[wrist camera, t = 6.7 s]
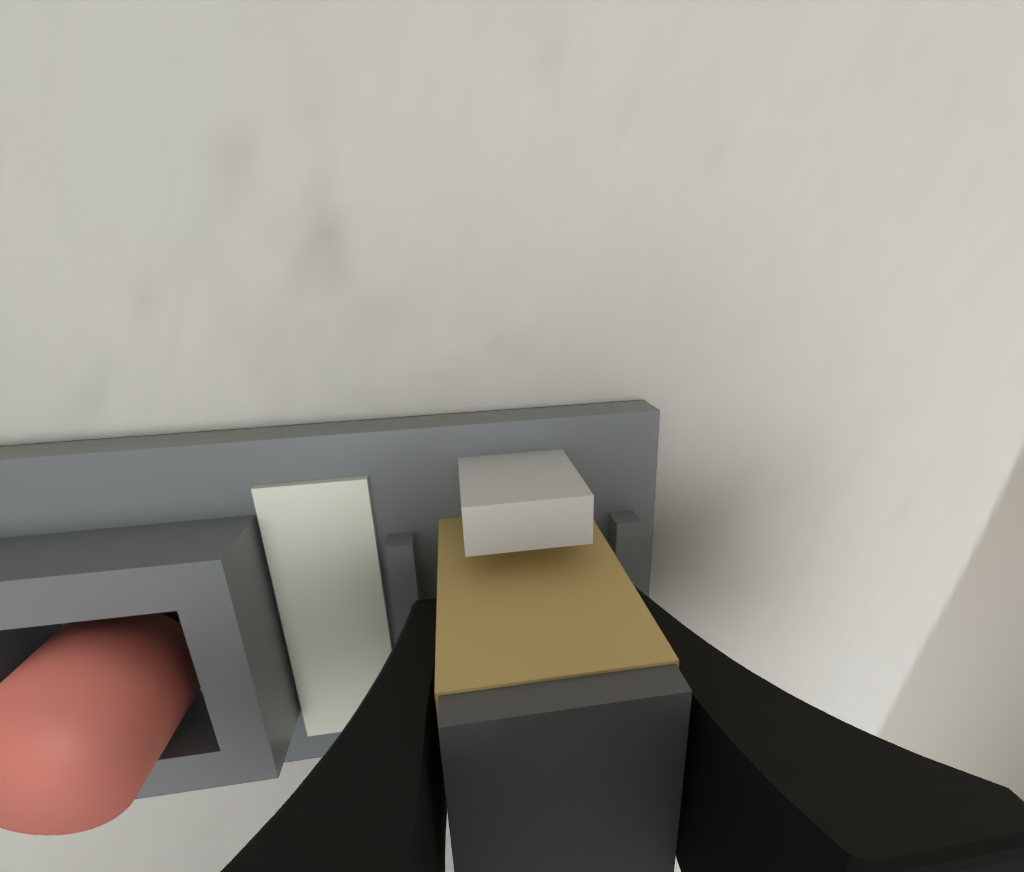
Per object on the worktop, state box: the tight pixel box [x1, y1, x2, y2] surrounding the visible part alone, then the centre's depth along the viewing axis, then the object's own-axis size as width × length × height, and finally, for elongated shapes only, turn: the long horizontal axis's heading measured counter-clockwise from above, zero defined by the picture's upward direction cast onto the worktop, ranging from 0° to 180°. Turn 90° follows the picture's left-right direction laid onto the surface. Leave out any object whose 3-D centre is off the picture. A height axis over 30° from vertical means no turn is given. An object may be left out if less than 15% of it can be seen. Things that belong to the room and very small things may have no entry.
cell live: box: [434, 517, 692, 872], centre depth 10 cm, size 4×4×6 cm
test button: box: [0, 613, 201, 835], centre depth 9 cm, size 3×3×2 cm
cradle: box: [0, 400, 660, 799], centre depth 11 cm, size 15×9×4 cm, turn 92°
